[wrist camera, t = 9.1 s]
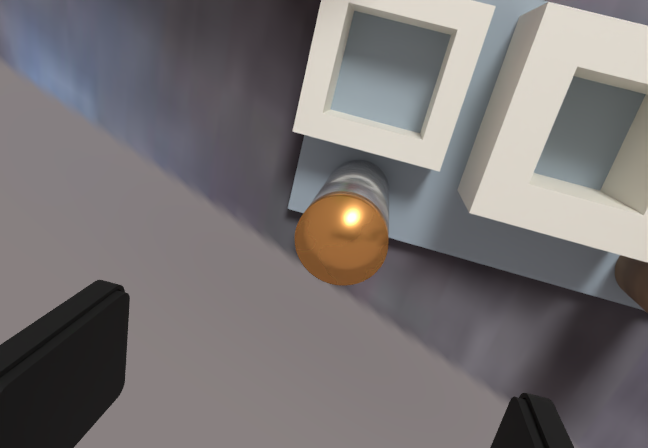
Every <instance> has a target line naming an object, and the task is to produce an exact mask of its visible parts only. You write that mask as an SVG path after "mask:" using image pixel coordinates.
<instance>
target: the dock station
mask: <svg viewBox="0 0 648 448" xmlns="http://www.w3.org/2000/svg"><path fill="white" fill-rule="evenodd" d="M293 132H296V133H300V134H304V139H303V144H302V148H301V152H300V157H299V161H298V166H297V170H296V174H295V179H294V183H293V188H292V192H291V196H290V201H289V205H288V209H290V210H294V211H297V212H301V213H304V212H305V211H306V209H307V208H308V206H309V205H310V204H311V202H312V201H313V199H314V198H315V197H316V195H317V194H318V192H319V191H320V189H321V188H322V187H323V185H324V184H325V182H326V181H327V180H328V178H329V177H330V175H331V174H332V172H333V171H334V170H335V169H336V168H337V167H338V166H340V165H341V164H343V163H345V162H348V161H351V160H364V161H368V162H371V163H373V164H374V165H376V166H377V167H379V168H380V169H381V170H382V172H383V173H384V174H385V176H386V178H387V180H388V183H389V191H390V194H389V236H388V238H392V239H395V240H399V241H402V242H406V243H409V244H413V245H416V246H420V247H423V248H427V249H430V250H434V251H437V252H441V253H444V254H448V255H451V256H455V257H458V258H462V259H465V260H469V261H472V262H476V263H479V264H483V265H486V266H490V267H493V268H497V269H500V270H504V271H507V272H511V273H514V274H518V275H521V276H525V277H528V278H532V279H535V280H539V281H542V282H546V283H549V284H553V285H556V286H560V287H563V288H567V289H571V290H574V291H578V292H581V293H585V294H588V295H592V296H595V297H599V298H602V299H606V300H609V301H613V302H616V303H620V304H623V305H627V306H630V307H634V308H637V309H641V310H644V309H643V308H641V307H640V306H639V305H638V304H637V303H636V302H635V301H634V300H633V299H632V298H631V297H629V296H628V295H627V294H626V293H625V292H624V291H623V290H622V289H621V288H620V287H619V285H618V283H617V281H616V278H615V265H616V262H617V260H618V258H619V256H620V255H622V256H626V257H629V258H633V259H636V260H640V261H644V262H647V263H648V26H647V25H643V24H639V23H634V22H630V21H626V20H622V19H618V18H614V17H610V16H606V15H601V14H597V13H593V12H589V11H585V10H581V9H577V8H573V7H568V6H564V5H560V4H556V3H552V2H548V1H544V0H321V3H320V8H319V12H318V17H317V22H316V26H315V31H314V35H313V40H312V44H311V49H310V54H309V58H308V63H307V67H306V72H305V77H304V81H303V86H302V90H301V95H300V100H299V104H298V109H297V113H296V118H295V123H294V127H293ZM644 311H645V310H644Z"/></svg>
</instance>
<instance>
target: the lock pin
mask: <svg viewBox="0 0 648 448" xmlns="http://www.w3.org/2000/svg"><path fill="white" fill-rule="evenodd" d="M389 194H390V191H389V183H388V180H387V178H386V176H385V174H384V173H383V172H382V170H381V169H380V168H379V167H377V166H376V165H374V164H373V163H371V162H368V161H364V160H351V161H348V162H345V163H343V164H341V165H340V166H338V167H337V168H336V169H335V170H334V171H333V172H332V174H331V175H330V177H329V178H328V180H327V181H326V182H325V184H324V185H323V187H322V188H321V189H320V191H319V192H318V194H317V195H316V197H315V198H314V199H313V201H312V202H311V204H310V205H309V206H308V208H307V209H306V211H305V212H304V214H303V215H302V216H301V218H300V220H299V222H298V224H297V227H296V231H295V247H296V251H297V254H298V257H299V259H300V261H301V263H302V264H303V265H304V267H305V268H306V269H307V270H308V271H309V272H310V273H311V274H312V275H313V276H315V277H316V278H318V279H320V280H322V281H324V282H327V283H330V284H334V285H353V284H357V283H360V282H362V281H364V280H366V279H368V278H370V277H371V276H372V275H374V274H375V273H376V272H377V271H378V269H379V268H380V267H381V265H382V264H383V262H384V260H385V258H386V255H387V251H388V236H389Z"/></svg>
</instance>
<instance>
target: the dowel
mask: <svg viewBox="0 0 648 448" xmlns="http://www.w3.org/2000/svg"><path fill="white" fill-rule="evenodd" d="M615 278H616V281H617V283H618V285H619V287H620V288H621V289H622V290H623V291H624V292H625V293H626V294H627V295H628V296H629V297H631V298H632V299H633V300H634V301H635V302H636V303H637V304H638V305H639V306H640V307H641V308H643V309H644V310H645V311H646V312H647V313H648V263H647V262H644V261H640V260H636V259H633V258H629V257H626V256H622V255H620V256H619V258H618V260H617V262H616V265H615Z"/></svg>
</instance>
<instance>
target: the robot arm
mask: <svg viewBox="0 0 648 448" xmlns="http://www.w3.org/2000/svg"><path fill="white" fill-rule="evenodd" d="M129 299H130V298H129V295H128V293H125V291H124V288H123V286H121V285H118V284H114V283H111V282H107V281H103V280H97V281H95V282H93V283H92V284H90V285H89V286H88V287H86V288H85V289H83V290H82V291H80V292H79V293H77V294H76V295H74V296H73V297H71V298H70V299H68V300H67V301H65V302H64V303H62V304H61V305H59V306H58V307H56V308H55V309H53V310H52V311H50V312H49V313H47V314H46V315H44V316H43V317H41V318H40V319H38V320H37V321H35V322H34V323H32V324H31V325H29V326H28V327H26V328H25V329H23V330H22V331H20V332H19V333H17V334H16V335H15V336H13V337H11V338H10V339H9V340H7V341H5V342H4V343H3V344H1V345H0V448H74V446H75V445H76V444H77V443H78V442H79V441H80V440H81V439H82V437H83V436H84V435H85V434H86V433H87V432H88V431H89V429H90V428H91V427H92V426H93V425H94V424H95V423H96V421H97V420H98V419H99V418H100V417H101V416H102V415H103V414H104V412H105V411H106V410H107V409H108V408H109V407H110V406H111V405H112V403H113V402H114V401H115V400H116V399H117V398H118V396H119V395H120V393H121V391H122V389H123V386H124V383H125V368H126V352H127V351H126V350H127V334H128V318H129ZM491 448H574V446H573V444H572V442H571V440H570V438H569V436H568V434H567V432H566V429H565V427H564V425H563V423H562V421H561V419H560V417H559V415H558V412H557V410H556V408H555V406H554V404H553V402H552V401H551V400H549V399H547V398H543V397H539V396H535V395H532V394H528V393H522V394H521V395H520V397H519V398H518V397H513V398H512V399H511V400H510V402H509V405H508V407H507V409H506V412H505V414H504V417H503V419H502V421H501V424H500V427H499V429H498V431H497V433H496V436H495V438H494V440H493V443H492V445H491Z"/></svg>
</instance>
